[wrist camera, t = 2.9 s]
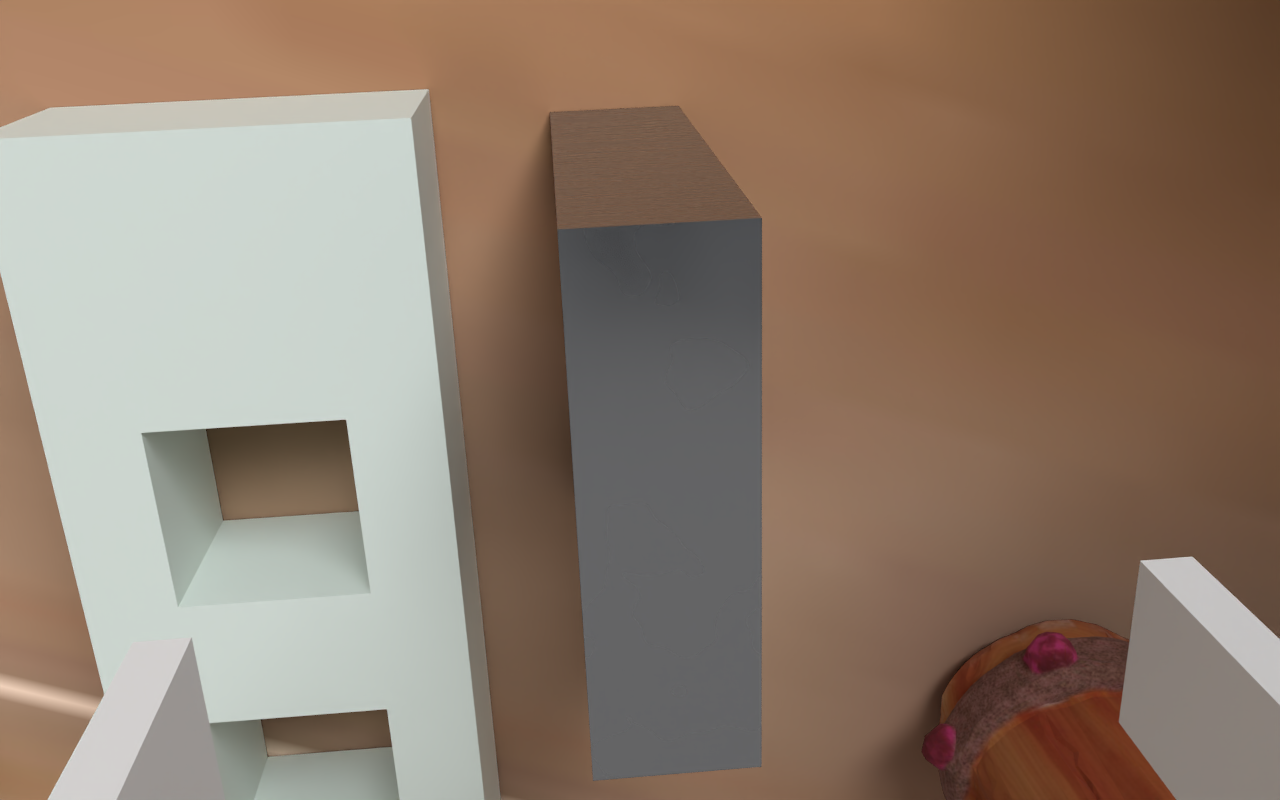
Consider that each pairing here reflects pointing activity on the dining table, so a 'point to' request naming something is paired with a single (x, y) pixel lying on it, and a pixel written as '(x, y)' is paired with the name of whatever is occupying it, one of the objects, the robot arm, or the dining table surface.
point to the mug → (1041, 721)
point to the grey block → (663, 438)
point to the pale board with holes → (259, 416)
